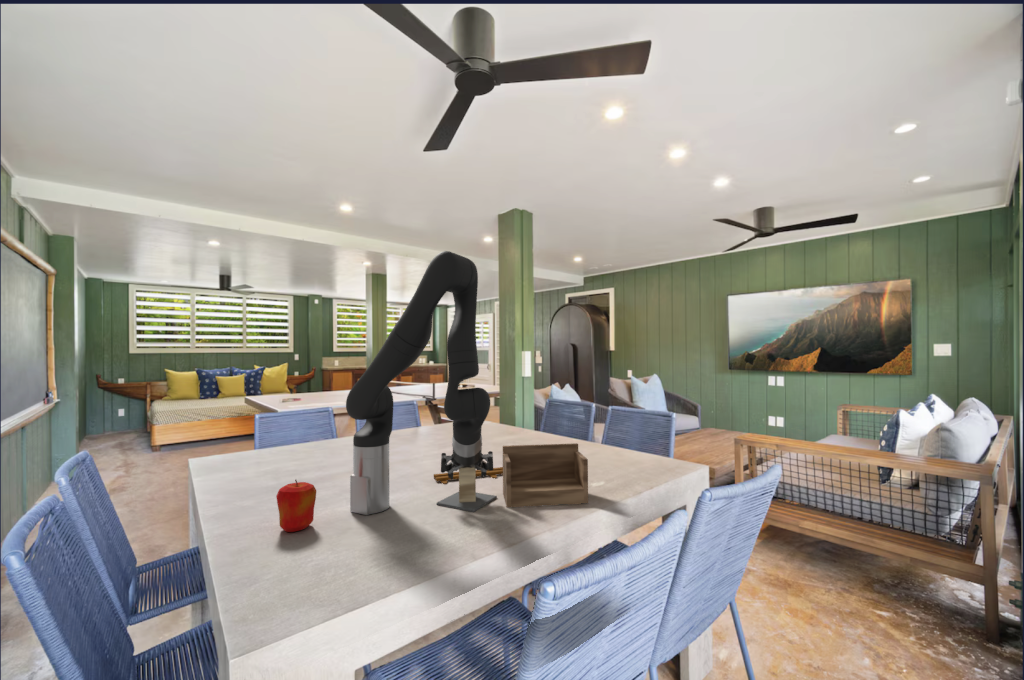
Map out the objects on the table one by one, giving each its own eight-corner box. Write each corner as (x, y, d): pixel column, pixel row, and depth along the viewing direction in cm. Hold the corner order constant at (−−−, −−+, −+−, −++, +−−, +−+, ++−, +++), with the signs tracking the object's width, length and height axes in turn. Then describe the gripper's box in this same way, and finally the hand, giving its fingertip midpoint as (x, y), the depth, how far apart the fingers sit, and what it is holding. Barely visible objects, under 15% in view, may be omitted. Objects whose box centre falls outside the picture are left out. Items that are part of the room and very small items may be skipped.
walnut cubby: (588, 503, 120) (587, 452, 120) (506, 507, 118) (506, 454, 118) (577, 490, 131) (577, 443, 132) (502, 493, 129) (502, 445, 129)
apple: (290, 539, 99) (290, 486, 99) (268, 532, 103) (268, 481, 103) (323, 525, 106) (323, 476, 107) (301, 519, 110) (301, 472, 111)
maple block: (475, 501, 120) (475, 465, 121) (459, 502, 120) (458, 465, 120) (475, 496, 125) (475, 460, 125) (459, 496, 125) (459, 461, 125)
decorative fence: (432, 478, 147) (437, 486, 138) (432, 472, 147) (437, 480, 138) (503, 470, 156) (513, 478, 147) (503, 464, 156) (512, 472, 147)
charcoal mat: (473, 512, 115) (473, 509, 115) (436, 504, 120) (436, 502, 120) (496, 498, 125) (496, 495, 125) (461, 492, 131) (461, 490, 131)
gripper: (494, 430, 116) (491, 463, 128) (439, 432, 115) (442, 465, 126) (495, 455, 111) (493, 487, 122) (438, 457, 110) (441, 489, 121)
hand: (467, 475), depth 124 cm, fingers open, 8 cm apart
